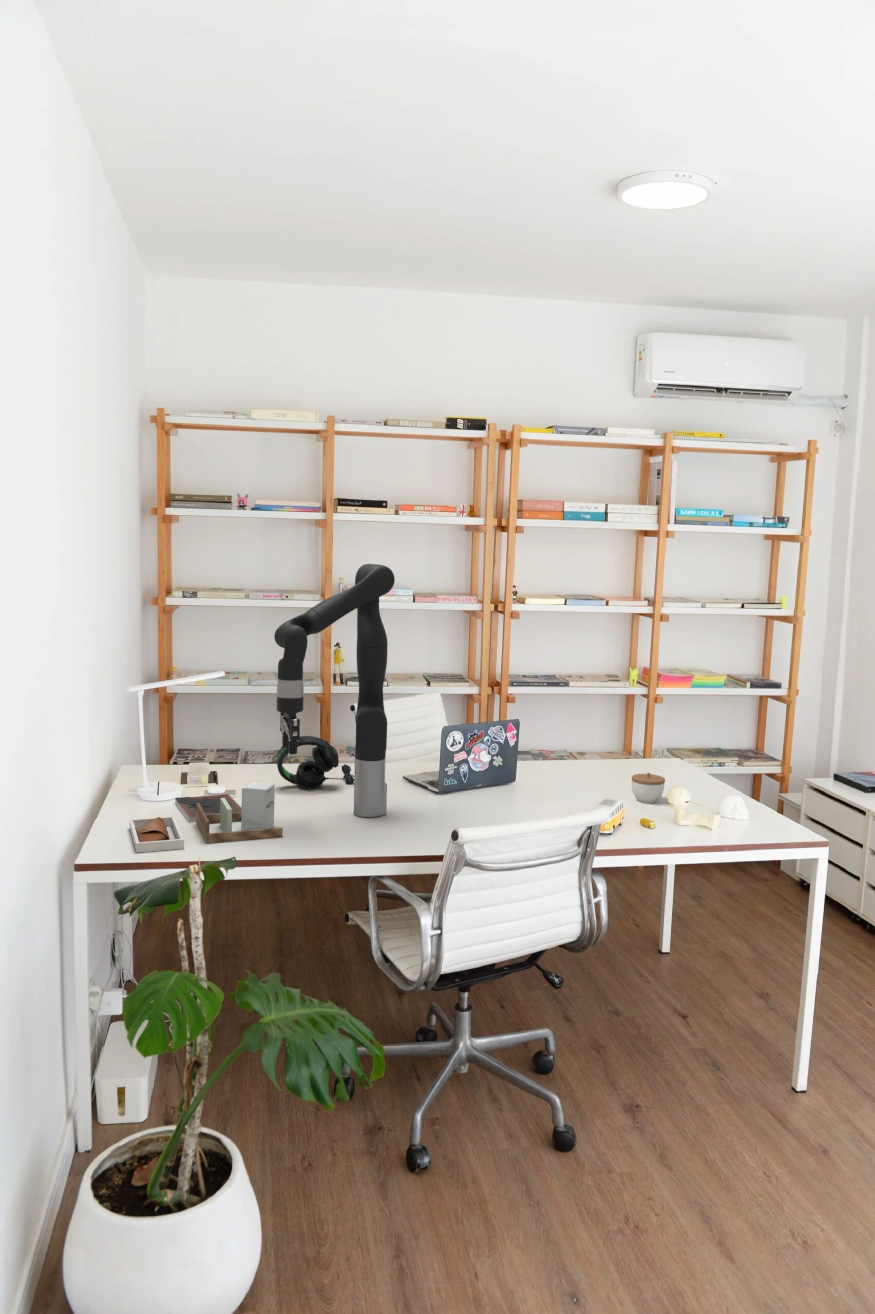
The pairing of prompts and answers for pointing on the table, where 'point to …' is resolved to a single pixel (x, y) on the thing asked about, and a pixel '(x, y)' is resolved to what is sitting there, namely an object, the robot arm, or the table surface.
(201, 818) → the lane
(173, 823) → the case corral
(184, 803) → the picture frame
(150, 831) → the sunglasses case
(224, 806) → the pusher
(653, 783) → the lidded jar
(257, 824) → the supplement box
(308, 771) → the headset
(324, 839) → the table surface
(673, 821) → the table surface
